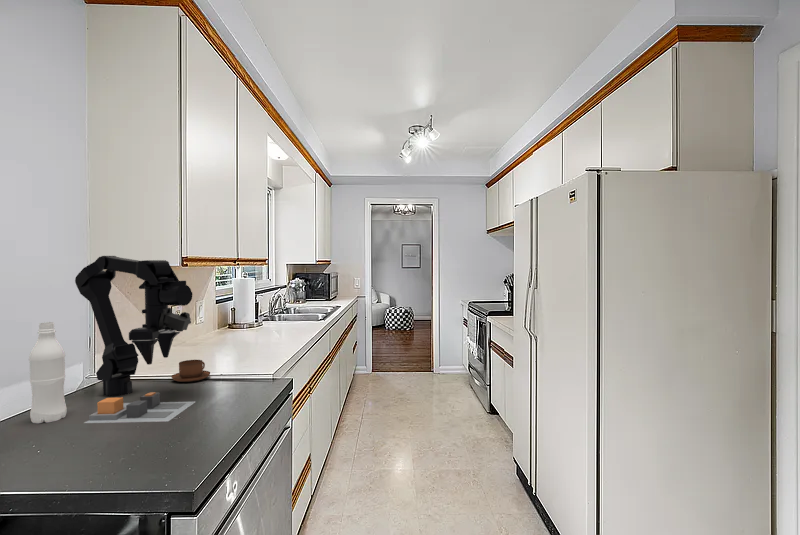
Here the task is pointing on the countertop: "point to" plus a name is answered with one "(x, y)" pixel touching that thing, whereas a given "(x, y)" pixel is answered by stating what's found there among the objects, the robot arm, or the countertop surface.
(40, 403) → the water bottle
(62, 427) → the countertop surface
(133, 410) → the panel
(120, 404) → the cap
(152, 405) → the block
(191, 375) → the cup and saucer
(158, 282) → the robot arm
